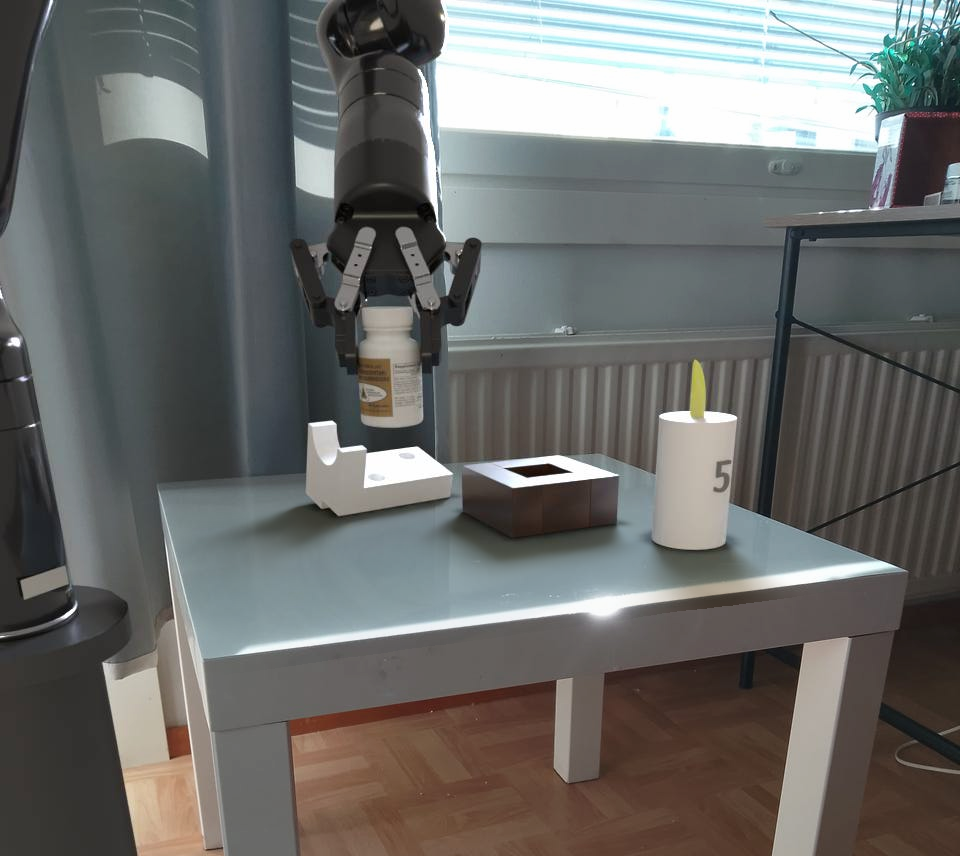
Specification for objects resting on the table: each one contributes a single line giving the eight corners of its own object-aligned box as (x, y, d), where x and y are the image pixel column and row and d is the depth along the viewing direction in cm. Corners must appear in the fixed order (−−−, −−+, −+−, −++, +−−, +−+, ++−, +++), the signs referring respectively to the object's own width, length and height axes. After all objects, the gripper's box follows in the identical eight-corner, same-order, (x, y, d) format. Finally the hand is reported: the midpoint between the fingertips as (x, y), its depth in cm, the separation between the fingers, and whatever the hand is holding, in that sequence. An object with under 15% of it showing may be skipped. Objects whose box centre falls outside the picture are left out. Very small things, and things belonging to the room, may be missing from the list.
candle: (690, 554, 77) (705, 366, 71) (636, 537, 82) (646, 359, 76) (743, 542, 80) (761, 360, 74) (688, 526, 85) (701, 355, 79)
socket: (512, 538, 82) (512, 487, 80) (462, 511, 91) (461, 465, 89) (617, 523, 86) (619, 475, 84) (559, 499, 95) (560, 455, 94)
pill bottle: (349, 423, 66) (341, 307, 63) (399, 416, 68) (395, 304, 65) (384, 430, 63) (378, 309, 60) (435, 423, 65) (432, 306, 62)
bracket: (337, 524, 90) (342, 452, 86) (305, 493, 95) (308, 423, 90) (449, 505, 97) (458, 437, 93) (414, 476, 102) (421, 410, 97)
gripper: (280, 135, 65) (273, 329, 58) (483, 135, 66) (498, 326, 59) (295, 221, 72) (290, 403, 65) (479, 220, 73) (492, 400, 66)
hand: (389, 365), depth 62 cm, fingers closed on pill bottle, 4 cm apart
